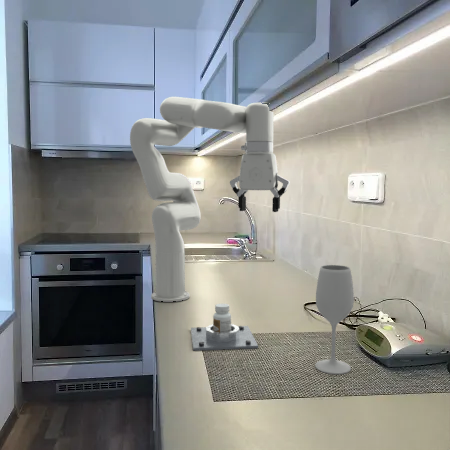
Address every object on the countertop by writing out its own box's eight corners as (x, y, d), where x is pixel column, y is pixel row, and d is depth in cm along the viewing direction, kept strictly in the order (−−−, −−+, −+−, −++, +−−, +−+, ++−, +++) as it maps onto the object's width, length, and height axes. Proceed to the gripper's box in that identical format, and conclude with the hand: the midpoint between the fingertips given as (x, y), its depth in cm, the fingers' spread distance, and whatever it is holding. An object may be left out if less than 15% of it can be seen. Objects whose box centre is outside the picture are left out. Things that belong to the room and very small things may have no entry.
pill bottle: (210, 334, 115) (210, 303, 115) (227, 332, 117) (227, 302, 116) (216, 339, 111) (216, 308, 111) (233, 337, 113) (233, 306, 112)
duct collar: (205, 331, 117) (205, 323, 117) (236, 330, 118) (236, 322, 118) (207, 342, 109) (207, 334, 109) (241, 341, 110) (241, 332, 110)
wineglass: (345, 360, 100) (348, 264, 98) (356, 374, 93) (359, 271, 91) (310, 360, 100) (312, 264, 98) (319, 374, 92) (321, 271, 91)
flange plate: (190, 329, 121) (190, 325, 120) (247, 328, 122) (247, 324, 122) (193, 350, 106) (193, 346, 106) (258, 348, 107) (258, 343, 107)
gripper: (225, 149, 128) (225, 211, 129) (285, 147, 121) (284, 213, 122) (235, 150, 134) (235, 209, 136) (293, 149, 128) (292, 211, 129)
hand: (258, 211), depth 129 cm, fingers open, 9 cm apart
